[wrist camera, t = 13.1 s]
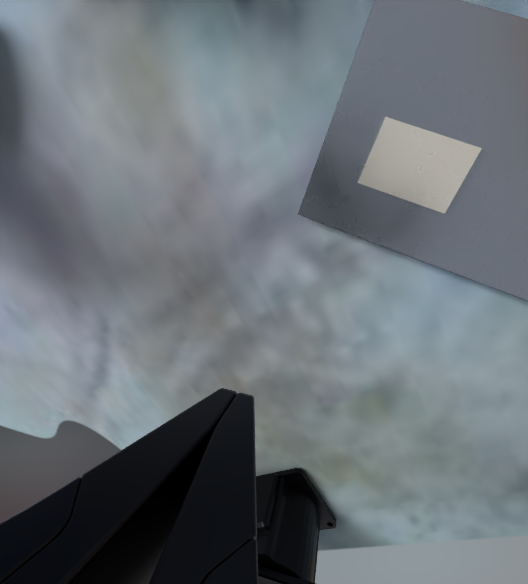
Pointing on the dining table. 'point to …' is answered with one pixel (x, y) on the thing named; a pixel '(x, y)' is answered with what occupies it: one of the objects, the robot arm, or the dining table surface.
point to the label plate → (433, 141)
